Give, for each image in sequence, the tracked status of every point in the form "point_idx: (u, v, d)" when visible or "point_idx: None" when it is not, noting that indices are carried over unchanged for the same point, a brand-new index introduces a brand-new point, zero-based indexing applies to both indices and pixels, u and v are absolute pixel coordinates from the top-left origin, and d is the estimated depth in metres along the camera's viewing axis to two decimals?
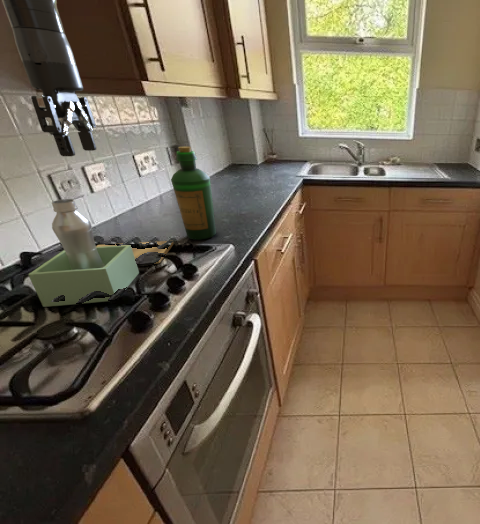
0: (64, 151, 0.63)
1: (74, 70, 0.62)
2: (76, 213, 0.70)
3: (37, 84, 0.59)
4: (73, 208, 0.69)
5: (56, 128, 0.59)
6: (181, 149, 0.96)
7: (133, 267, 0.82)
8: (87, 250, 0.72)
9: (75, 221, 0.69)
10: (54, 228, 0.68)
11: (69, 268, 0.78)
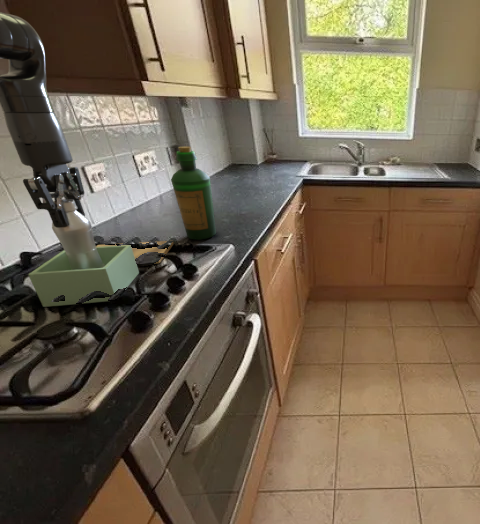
0: (58, 223, 0.66)
1: (63, 145, 0.64)
2: (76, 213, 0.70)
3: (27, 162, 0.62)
4: (73, 208, 0.69)
5: (50, 206, 0.63)
6: (181, 149, 0.96)
7: (133, 267, 0.82)
8: (87, 250, 0.72)
9: (75, 221, 0.69)
10: (54, 228, 0.68)
11: (69, 268, 0.78)
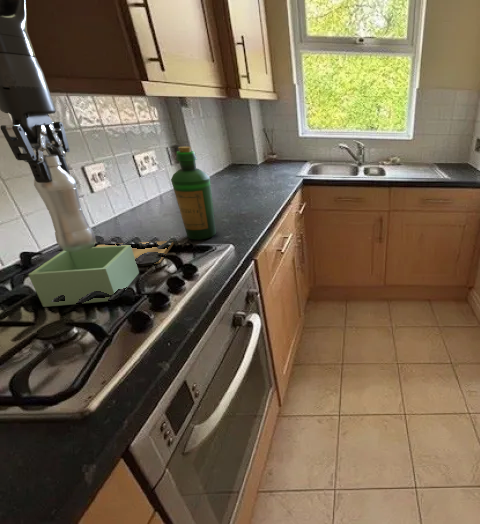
0: (39, 178, 0.62)
1: (45, 93, 0.60)
2: (60, 169, 0.66)
3: (6, 108, 0.58)
4: (56, 163, 0.65)
5: (31, 157, 0.59)
6: (181, 149, 0.96)
7: (133, 267, 0.82)
8: (72, 210, 0.68)
9: (59, 177, 0.65)
10: (36, 184, 0.64)
11: (69, 268, 0.78)
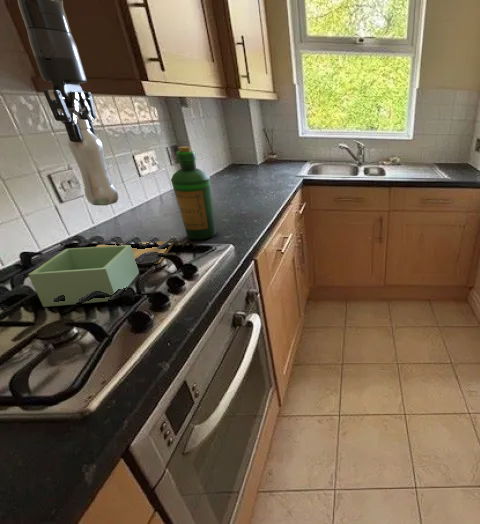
0: (73, 137, 0.74)
1: (79, 65, 0.72)
2: (89, 132, 0.77)
3: (47, 76, 0.69)
4: (87, 126, 0.76)
5: (67, 118, 0.70)
6: (181, 149, 0.96)
7: (133, 267, 0.82)
8: (99, 168, 0.79)
9: (89, 138, 0.76)
10: (70, 143, 0.75)
11: (69, 268, 0.78)
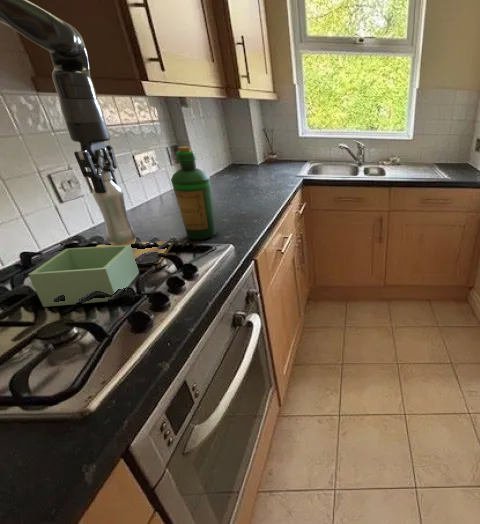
0: (98, 189, 0.82)
1: (104, 126, 0.80)
2: (112, 182, 0.85)
3: (76, 138, 0.77)
4: (110, 178, 0.84)
5: (94, 174, 0.79)
6: (181, 149, 0.96)
7: (133, 267, 0.82)
8: (120, 214, 0.88)
9: (112, 189, 0.85)
10: (95, 194, 0.84)
11: (69, 268, 0.78)
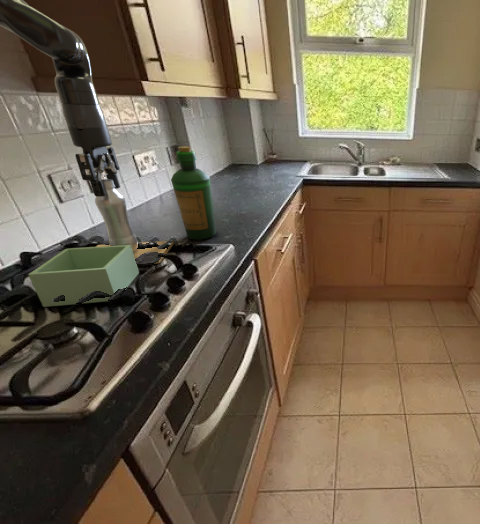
0: (98, 193, 0.81)
1: (106, 131, 0.80)
2: (114, 190, 0.86)
3: (79, 144, 0.78)
4: (112, 186, 0.85)
5: (93, 177, 0.78)
6: (181, 149, 0.96)
7: (133, 267, 0.82)
8: (122, 221, 0.89)
9: (114, 197, 0.86)
10: (97, 202, 0.84)
11: (69, 268, 0.78)
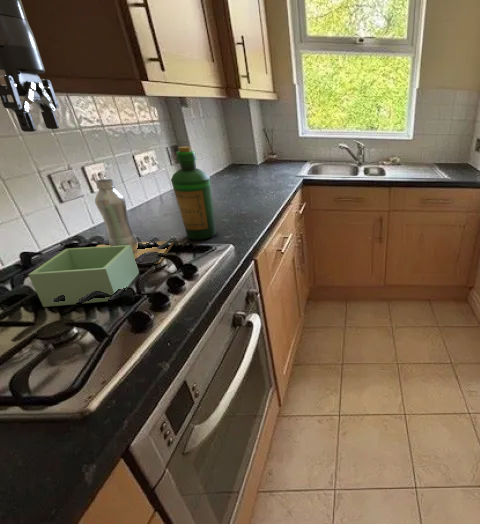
0: (25, 126, 0.69)
1: (35, 53, 0.68)
2: (114, 190, 0.86)
3: (0, 65, 0.66)
4: (112, 186, 0.85)
5: (17, 105, 0.66)
6: (181, 149, 0.96)
7: (133, 267, 0.82)
8: (122, 221, 0.89)
9: (114, 197, 0.86)
10: (97, 202, 0.84)
11: (69, 268, 0.78)
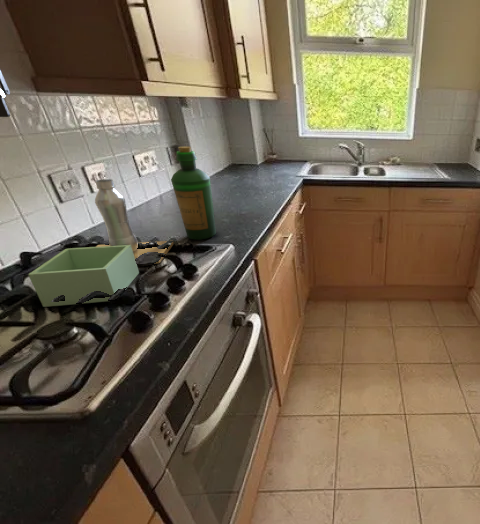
0: None
1: None
2: (114, 190, 0.86)
3: None
4: (112, 186, 0.85)
5: None
6: (181, 149, 0.96)
7: (133, 267, 0.82)
8: (122, 221, 0.89)
9: (114, 197, 0.86)
10: (97, 202, 0.84)
11: (69, 268, 0.78)
